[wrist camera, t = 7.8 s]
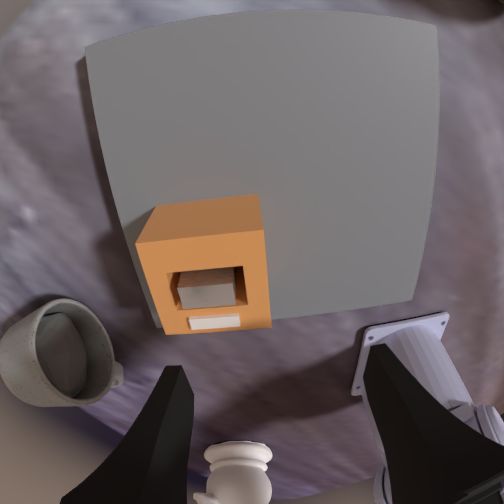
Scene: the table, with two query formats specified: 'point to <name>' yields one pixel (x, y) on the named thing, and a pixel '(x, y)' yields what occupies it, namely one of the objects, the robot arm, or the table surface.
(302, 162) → the board
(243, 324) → the orange cubby crate
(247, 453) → the cherub figurine
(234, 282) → the grey cubby insert
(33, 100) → the table surface
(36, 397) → the ceramic mug
